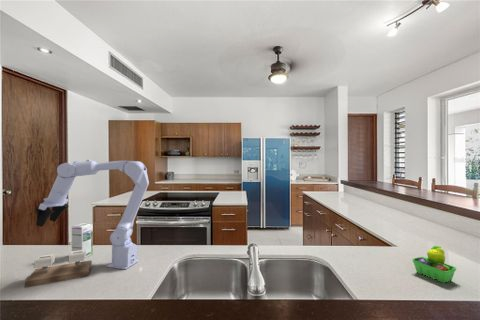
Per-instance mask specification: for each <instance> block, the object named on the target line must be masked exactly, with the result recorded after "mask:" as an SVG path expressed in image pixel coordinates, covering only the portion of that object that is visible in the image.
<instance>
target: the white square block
mask: <svg viewBox="0 0 480 320" xmlns="http://www.w3.org/2000/svg"><path fill="white" fill-rule="evenodd" d="M86 258H87V257H86V250H79V251H72V250H71V252H70V253H69V255H68V264H71V263H75V262H78V261H80V262H84V261H85V259H86Z"/></svg>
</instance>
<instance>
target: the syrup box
mask: <svg viewBox="0 0 480 320" xmlns="http://www.w3.org/2000/svg"><path fill="white" fill-rule="evenodd" d="M93 229H94V228H93V223H89V222H86V223H85V222H84V223H83V222H82V223H80V224H75V225H73V226H71V252H72V251H79V250H86V257H85V258H87V257H90V256H92V255H94V254H93V253H94V250H93V249H94V247H93V246H94V245H93V244H94V241H93V239H94V236H93V235H94V234H93V233H94V231H93Z"/></svg>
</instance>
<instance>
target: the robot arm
mask: <svg viewBox="0 0 480 320" xmlns="http://www.w3.org/2000/svg"><path fill="white" fill-rule="evenodd" d="M109 170H111V171H112V170H118V171H120V172H124V174H126V175H127V176H128V177H130V179H131V180H132V182H133V183H134V185H135V186H134V187H133V190H132V193H131V194H130V197H129V200H128V203H127V204H126V207H125V209H124V211H123V214H122V216H121V219H120V221H119V223H118V224H117V225H116V228H115V230H114V231H113V232H111V234H110V236H109V241H110V243H111V263H108V264H107V265H106V267H107V268H111V269H112V268H114V269H122V270H127V269H128V268H130V267H132V266H133V265H135V264H137V263H138V262H139V259H138V252H139V251H138V245H137V244H135V243H133V242H132V238H131V237H132V234H133V231H134V230H133V227H134V224H135V223H134V221H135V219H136V216H137V214H138V211H139V209H140V207H141V204H142V201H143V199H144V197H145V195H146V192H147V189H148V187H149V185H150V181H149V176H148V169H147V166H146V165H145V164H144V163H143V162H142V161H140V160H139V161H138V160H136V161H135V160H115V161H106V162H99V163H98V162H97V161H95V160H92V159H86V161H79V162H78V161H75V160H74V161H73V162H70V163H69V162H64V163H60V164H59V165H58V166H57V168H56V172H57V176H56V178H55V180H54V183H53V185H52V188H51V190H50V192H49V193H48V196H47V197H46V198H43V201H44V202H42V203H39V205H38V206H36V207H35V212H36V223H35V224H36V226H38V227H40V228H41V227H44V226H45V224H46V223H47V221H48V219H49V221H50V222H51V221H52V222H54V223H55V222H56V221H57V220H58V219H59V217H60V216H61V215H62V214H63V212H64V211H66V210H67V209H68V208H69V205H68V202H69V199H68V195H69V193H70V190H71V189H72V186H73V183H74V182H75V178H77V177H81V176H82V177H84V176H91V175H96V174H98V172H99V171H100V172H101V171H109ZM50 208H51V209H50Z"/></svg>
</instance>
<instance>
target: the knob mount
mask: <svg viewBox="0 0 480 320" xmlns="http://www.w3.org/2000/svg"><path fill="white" fill-rule="evenodd" d="M92 265H93V263H92V260H84V261H78V262H72V263H65V264H60V265H59V264H58V265H53V266H52V265H51V266H47V267H40V268H34V269H35V270H33V271H32V272H31V273H30V275H29V276H28V278H26V280H25V281H24V288H29V287H35V286H40V285H46V284H51V283H55V282H62V281H68V280H71V279H72V280H73V279H79V278H83V277H88V276H89V274H90V270H91V268H92Z"/></svg>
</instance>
